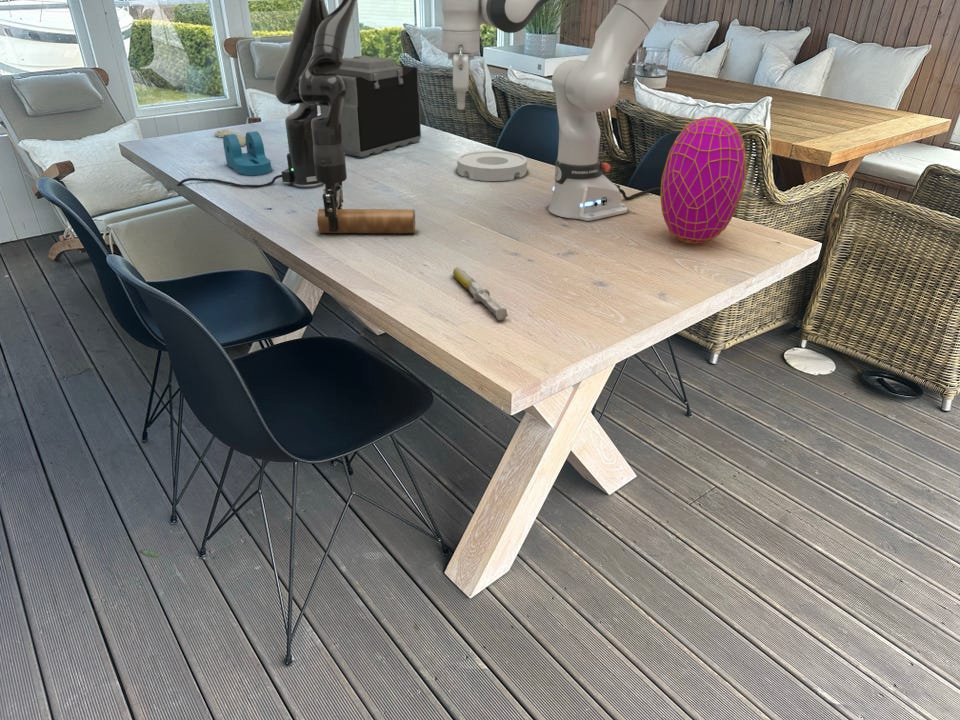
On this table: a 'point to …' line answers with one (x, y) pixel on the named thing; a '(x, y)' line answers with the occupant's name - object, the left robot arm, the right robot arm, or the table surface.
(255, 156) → the camera mount
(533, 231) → the table surface
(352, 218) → the rod
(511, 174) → the ashtray
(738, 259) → the table surface
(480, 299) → the syringe
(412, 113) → the grey cooler box
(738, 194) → the decorative egg
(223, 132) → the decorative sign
